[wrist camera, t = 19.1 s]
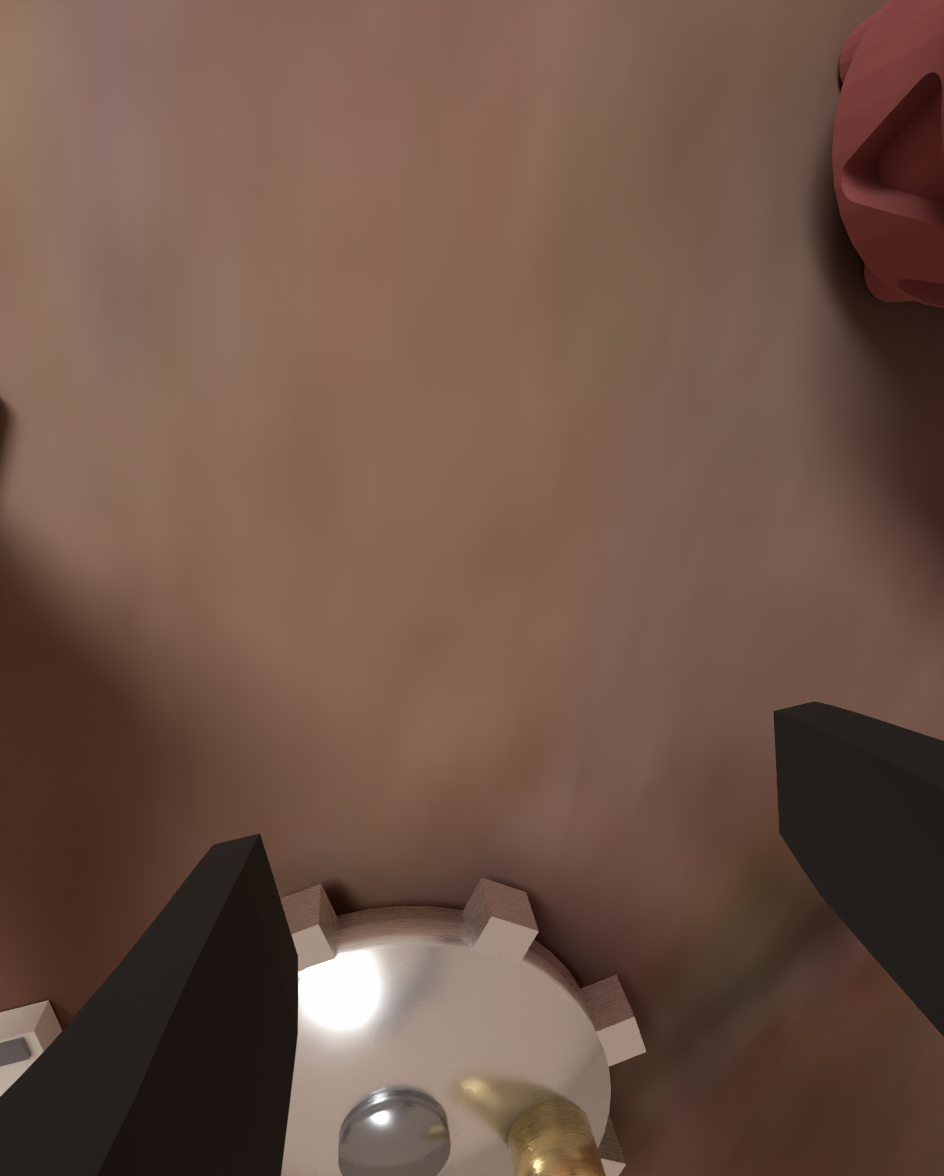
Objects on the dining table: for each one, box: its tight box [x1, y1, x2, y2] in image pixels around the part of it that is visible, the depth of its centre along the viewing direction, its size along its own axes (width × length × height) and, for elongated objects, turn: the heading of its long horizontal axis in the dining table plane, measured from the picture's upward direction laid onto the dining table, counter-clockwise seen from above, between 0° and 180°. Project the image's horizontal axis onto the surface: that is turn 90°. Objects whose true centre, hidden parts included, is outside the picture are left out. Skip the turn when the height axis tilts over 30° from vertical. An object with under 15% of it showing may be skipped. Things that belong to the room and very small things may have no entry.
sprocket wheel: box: [280, 878, 646, 1176], centre depth 20 cm, size 15×15×4 cm
